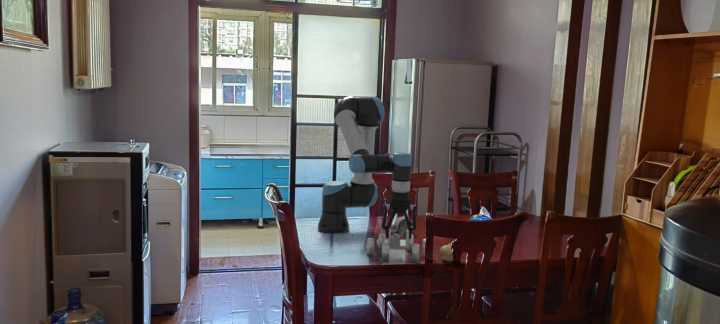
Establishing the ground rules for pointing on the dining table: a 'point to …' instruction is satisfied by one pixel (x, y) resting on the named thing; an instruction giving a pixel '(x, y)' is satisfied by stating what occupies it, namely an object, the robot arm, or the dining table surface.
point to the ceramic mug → (400, 224)
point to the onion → (446, 253)
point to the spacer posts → (386, 246)
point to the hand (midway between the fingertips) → (397, 245)
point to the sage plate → (402, 243)
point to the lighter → (397, 238)
